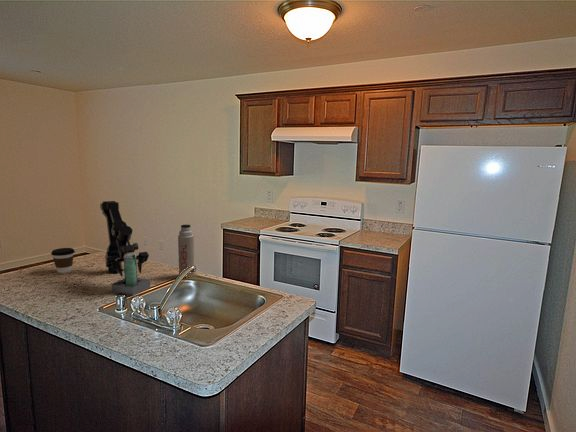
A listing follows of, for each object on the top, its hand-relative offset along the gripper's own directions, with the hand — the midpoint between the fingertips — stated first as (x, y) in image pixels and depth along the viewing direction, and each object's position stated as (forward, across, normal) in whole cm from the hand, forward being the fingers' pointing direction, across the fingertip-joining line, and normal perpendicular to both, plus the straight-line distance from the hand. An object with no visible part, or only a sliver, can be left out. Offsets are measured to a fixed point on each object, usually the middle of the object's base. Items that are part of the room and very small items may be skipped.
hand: (131, 274), depth 172 cm
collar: (+5, 0, +7) cm, 8 cm away
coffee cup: (-29, -22, +41) cm, 55 cm away
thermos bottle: (+2, +30, +10) cm, 31 cm away
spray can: (+5, 0, +7) cm, 8 cm away
